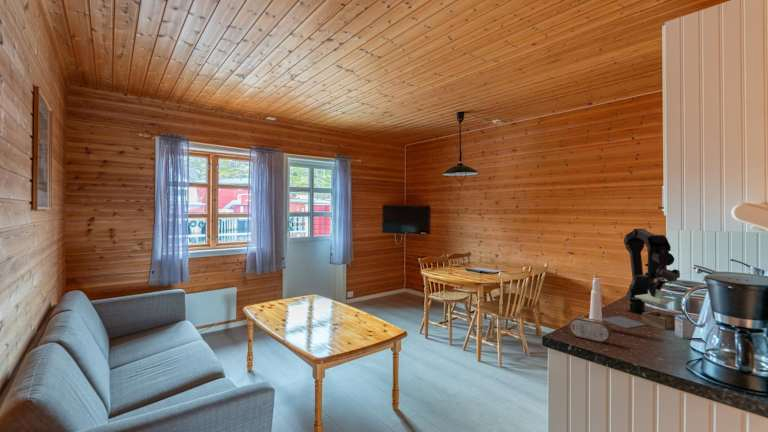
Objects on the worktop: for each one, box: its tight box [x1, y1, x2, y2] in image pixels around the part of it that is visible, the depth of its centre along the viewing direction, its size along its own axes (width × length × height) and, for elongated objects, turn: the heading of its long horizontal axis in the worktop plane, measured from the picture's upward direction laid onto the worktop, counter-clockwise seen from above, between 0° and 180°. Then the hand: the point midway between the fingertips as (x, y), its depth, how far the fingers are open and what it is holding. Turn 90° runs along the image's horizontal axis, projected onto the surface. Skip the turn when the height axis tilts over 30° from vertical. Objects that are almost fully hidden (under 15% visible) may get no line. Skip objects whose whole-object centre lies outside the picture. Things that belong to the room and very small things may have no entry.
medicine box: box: [674, 314, 700, 340], centre depth 143 cm, size 8×4×9 cm, turn 84°
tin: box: [568, 316, 613, 343], centre depth 141 cm, size 15×3×8 cm, turn 47°
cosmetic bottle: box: [588, 277, 603, 321], centre depth 155 cm, size 6×6×22 cm
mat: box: [602, 315, 648, 329], centre depth 161 cm, size 13×13×1 cm
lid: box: [635, 289, 677, 306], centre depth 158 cm, size 11×11×6 cm
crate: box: [641, 310, 675, 331], centre depth 158 cm, size 10×10×4 cm
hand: (654, 296), depth 158 cm, fingers closed on lid
